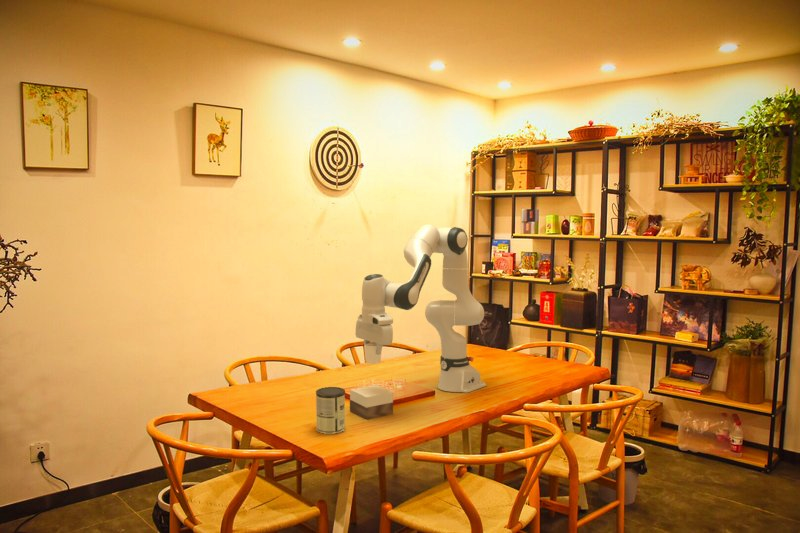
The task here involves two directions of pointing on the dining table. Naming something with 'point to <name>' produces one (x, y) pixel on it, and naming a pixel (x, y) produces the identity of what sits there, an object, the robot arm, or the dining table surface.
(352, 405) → the walnut base block
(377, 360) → the white cylinder
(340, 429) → the coffee can
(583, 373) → the dining table surface
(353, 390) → the cream top block
